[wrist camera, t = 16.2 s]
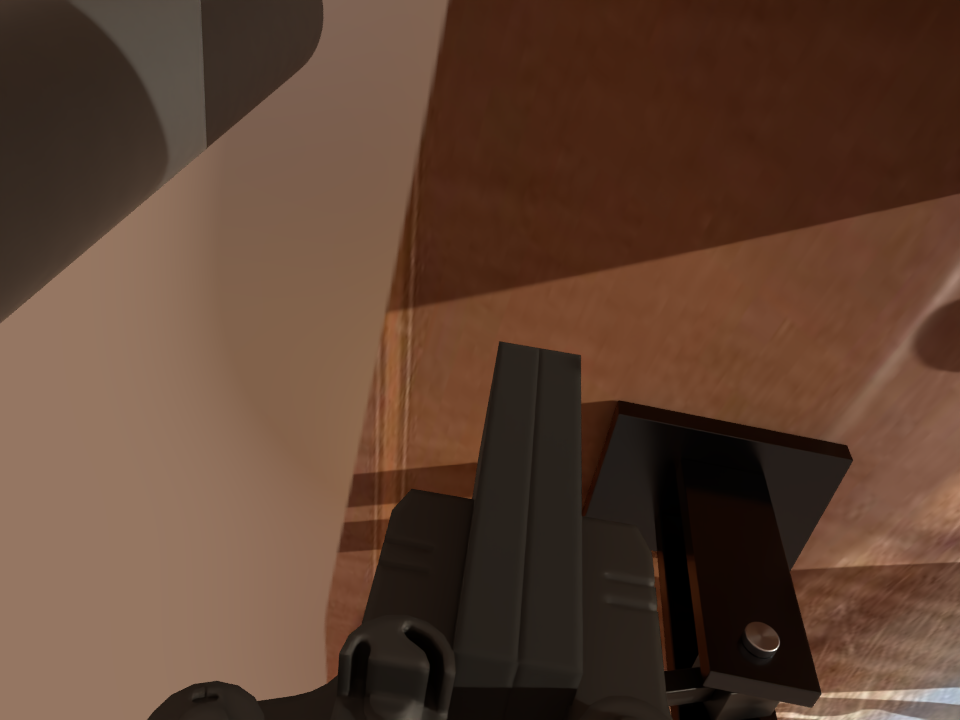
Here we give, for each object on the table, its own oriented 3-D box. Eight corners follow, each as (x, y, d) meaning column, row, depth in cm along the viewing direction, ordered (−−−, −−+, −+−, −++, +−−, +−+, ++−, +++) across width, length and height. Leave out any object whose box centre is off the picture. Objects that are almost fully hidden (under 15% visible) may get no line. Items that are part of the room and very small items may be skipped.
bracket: (578, 521, 46) (574, 748, 35) (618, 399, 41) (627, 620, 30) (782, 561, 46) (844, 803, 35) (847, 445, 41) (944, 683, 30)
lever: (478, 718, 33) (491, 775, 31) (498, 645, 30) (514, 703, 29) (733, 684, 37) (759, 733, 35) (773, 615, 34) (803, 665, 32)
